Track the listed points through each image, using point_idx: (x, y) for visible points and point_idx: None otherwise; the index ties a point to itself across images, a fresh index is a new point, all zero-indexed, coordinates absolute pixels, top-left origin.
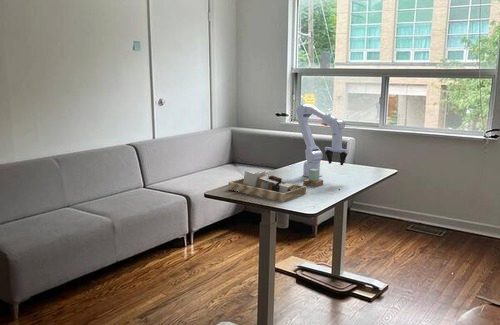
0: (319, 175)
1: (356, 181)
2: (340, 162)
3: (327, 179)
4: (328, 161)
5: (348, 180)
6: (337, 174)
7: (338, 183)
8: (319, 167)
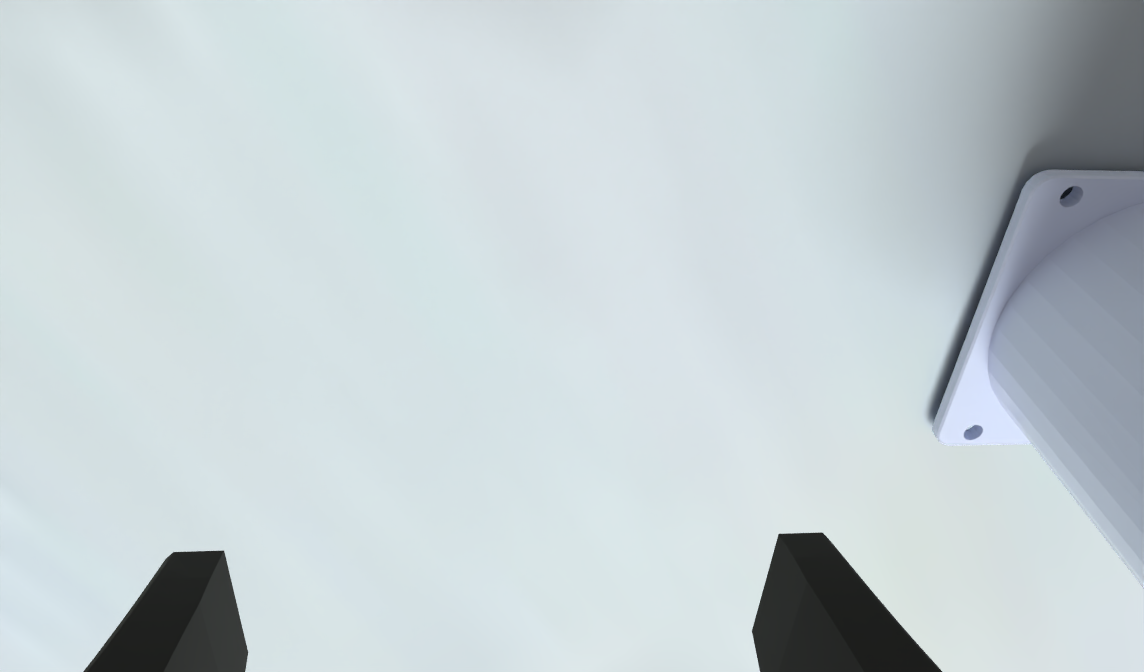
0: (989, 379)
1: (99, 477)
2: (163, 651)
3: (718, 247)
4: (870, 590)
5: (283, 448)
6: (708, 660)
7: (258, 40)
8: (1110, 495)
